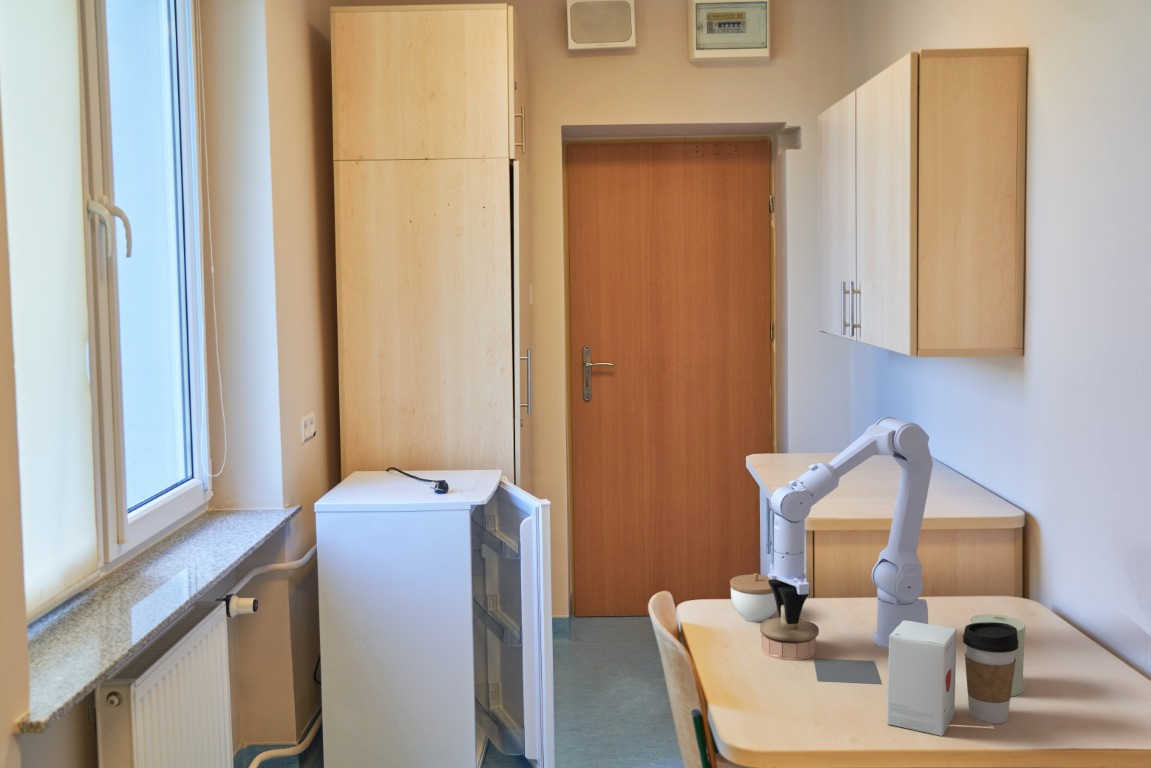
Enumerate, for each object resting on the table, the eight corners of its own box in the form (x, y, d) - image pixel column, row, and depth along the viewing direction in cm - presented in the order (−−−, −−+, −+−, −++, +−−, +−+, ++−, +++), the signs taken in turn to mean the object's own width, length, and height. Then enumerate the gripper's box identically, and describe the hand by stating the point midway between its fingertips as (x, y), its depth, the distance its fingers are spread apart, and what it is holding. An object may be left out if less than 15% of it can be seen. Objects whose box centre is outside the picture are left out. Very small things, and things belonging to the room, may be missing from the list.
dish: (813, 644, 202) (813, 626, 202) (816, 663, 193) (816, 644, 192) (761, 642, 204) (761, 624, 204) (762, 660, 194) (762, 642, 194)
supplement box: (943, 737, 161) (945, 645, 160) (885, 725, 166) (887, 635, 165) (956, 716, 169) (958, 627, 168) (900, 704, 174) (902, 618, 172)
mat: (874, 662, 192) (874, 660, 192) (881, 686, 182) (881, 684, 182) (813, 660, 194) (813, 658, 194) (817, 683, 183) (817, 680, 183)
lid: (811, 621, 203) (811, 597, 203) (824, 640, 192) (825, 615, 192) (755, 622, 203) (755, 598, 203) (765, 641, 192) (766, 616, 192)
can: (1021, 679, 184) (1023, 614, 182) (1025, 699, 175) (1028, 631, 174) (966, 673, 187) (967, 609, 185) (967, 693, 178) (969, 625, 177)
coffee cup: (1021, 729, 164) (1024, 637, 162) (965, 725, 166) (967, 634, 164) (1010, 707, 172) (1013, 620, 170) (956, 704, 174) (959, 617, 172)
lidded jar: (791, 617, 218) (792, 574, 217) (758, 629, 211) (759, 584, 210) (752, 605, 226) (752, 563, 225) (719, 616, 220) (719, 573, 219)
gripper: (755, 542, 203) (755, 609, 204) (783, 562, 188) (783, 634, 190) (789, 540, 204) (788, 607, 205) (820, 559, 190) (819, 631, 191)
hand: (788, 620), depth 198 cm, fingers closed on lid, 3 cm apart
